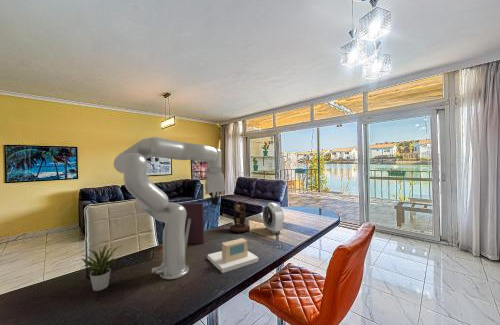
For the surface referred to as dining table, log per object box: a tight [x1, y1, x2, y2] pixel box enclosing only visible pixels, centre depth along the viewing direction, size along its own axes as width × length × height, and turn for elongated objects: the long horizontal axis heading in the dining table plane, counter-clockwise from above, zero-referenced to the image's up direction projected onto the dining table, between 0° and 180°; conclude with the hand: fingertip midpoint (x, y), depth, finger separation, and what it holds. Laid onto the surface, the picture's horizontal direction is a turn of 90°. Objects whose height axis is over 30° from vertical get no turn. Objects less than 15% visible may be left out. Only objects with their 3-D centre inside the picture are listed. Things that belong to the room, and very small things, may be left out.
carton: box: [221, 237, 249, 263], centre depth 110 cm, size 12×8×5 cm
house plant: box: [81, 244, 122, 292], centre depth 90 cm, size 14×14×16 cm
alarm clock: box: [262, 202, 285, 235], centre depth 157 cm, size 18×8×20 cm, turn 25°
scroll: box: [229, 202, 251, 234], centre depth 159 cm, size 15×15×20 cm
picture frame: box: [176, 202, 205, 250], centre depth 131 cm, size 17×10×25 cm, turn 84°
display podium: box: [207, 250, 260, 274], centre depth 112 cm, size 20×18×2 cm
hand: (215, 204), depth 119 cm, fingers closed
